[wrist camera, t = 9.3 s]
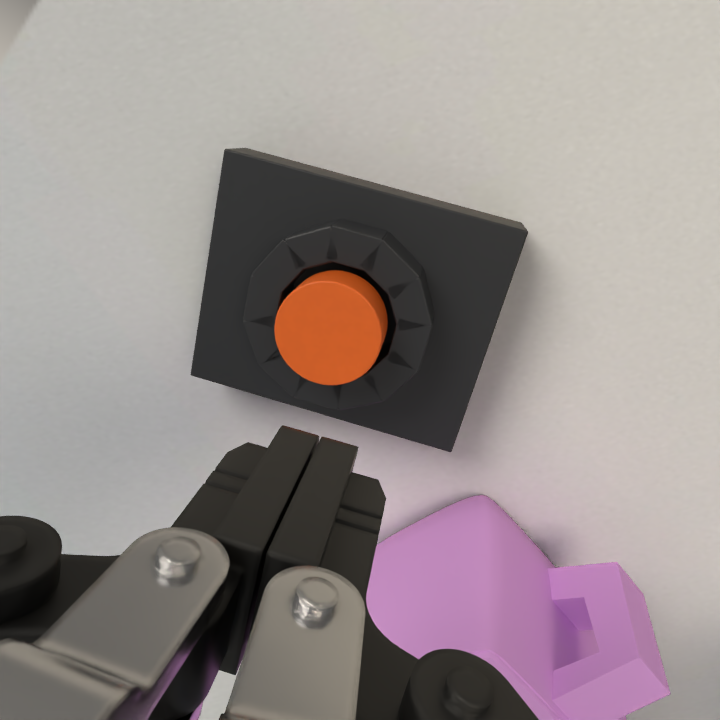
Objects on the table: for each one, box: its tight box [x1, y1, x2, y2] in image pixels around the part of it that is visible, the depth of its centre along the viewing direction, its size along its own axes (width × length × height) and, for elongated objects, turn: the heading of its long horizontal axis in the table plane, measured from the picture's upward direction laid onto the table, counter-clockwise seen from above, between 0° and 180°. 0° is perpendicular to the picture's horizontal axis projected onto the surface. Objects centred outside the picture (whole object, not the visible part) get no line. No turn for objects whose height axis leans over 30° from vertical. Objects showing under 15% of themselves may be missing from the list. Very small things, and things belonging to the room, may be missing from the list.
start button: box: [274, 270, 388, 385], centre depth 21 cm, size 4×4×2 cm
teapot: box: [366, 495, 670, 720], centre depth 25 cm, size 18×10×10 cm, turn 131°
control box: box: [191, 148, 528, 452], centre depth 23 cm, size 11×9×4 cm
